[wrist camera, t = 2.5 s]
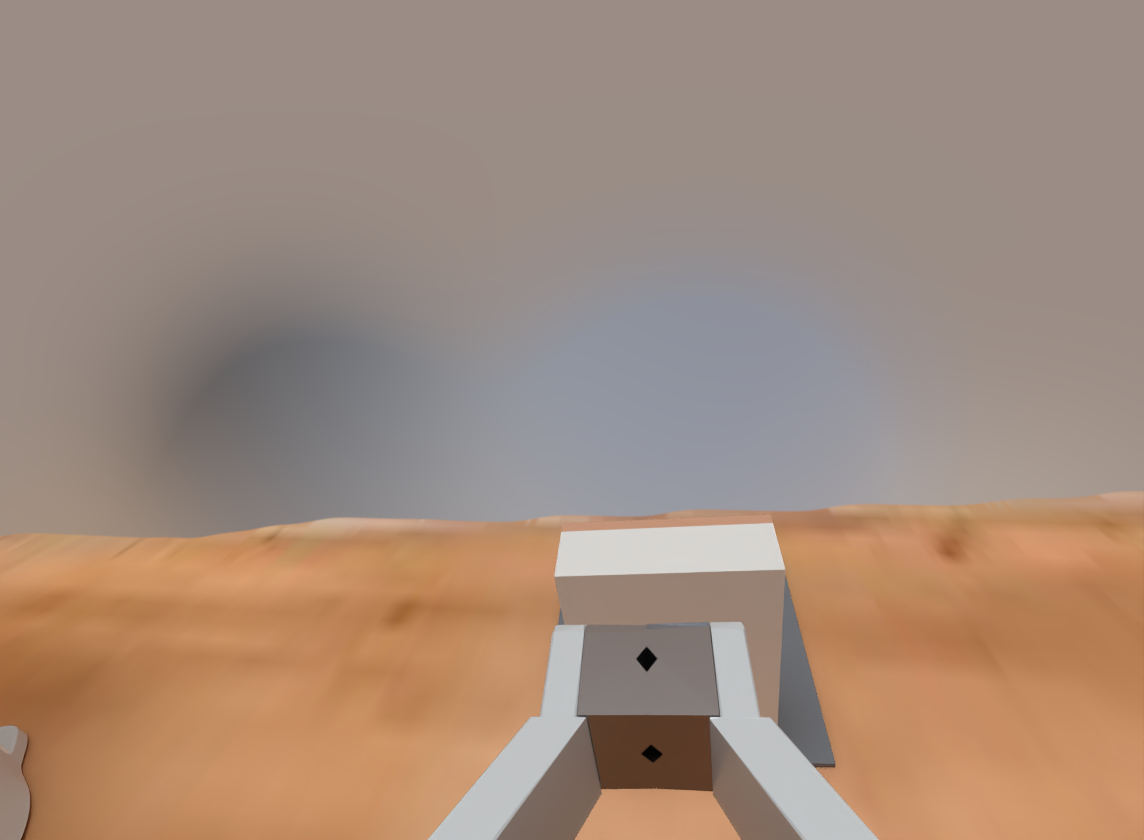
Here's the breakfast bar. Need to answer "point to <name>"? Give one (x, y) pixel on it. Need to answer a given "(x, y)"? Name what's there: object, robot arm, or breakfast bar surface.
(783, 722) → the felt mat
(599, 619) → the white boxy piece
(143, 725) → the breakfast bar surface
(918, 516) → the breakfast bar surface
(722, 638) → the robot arm
